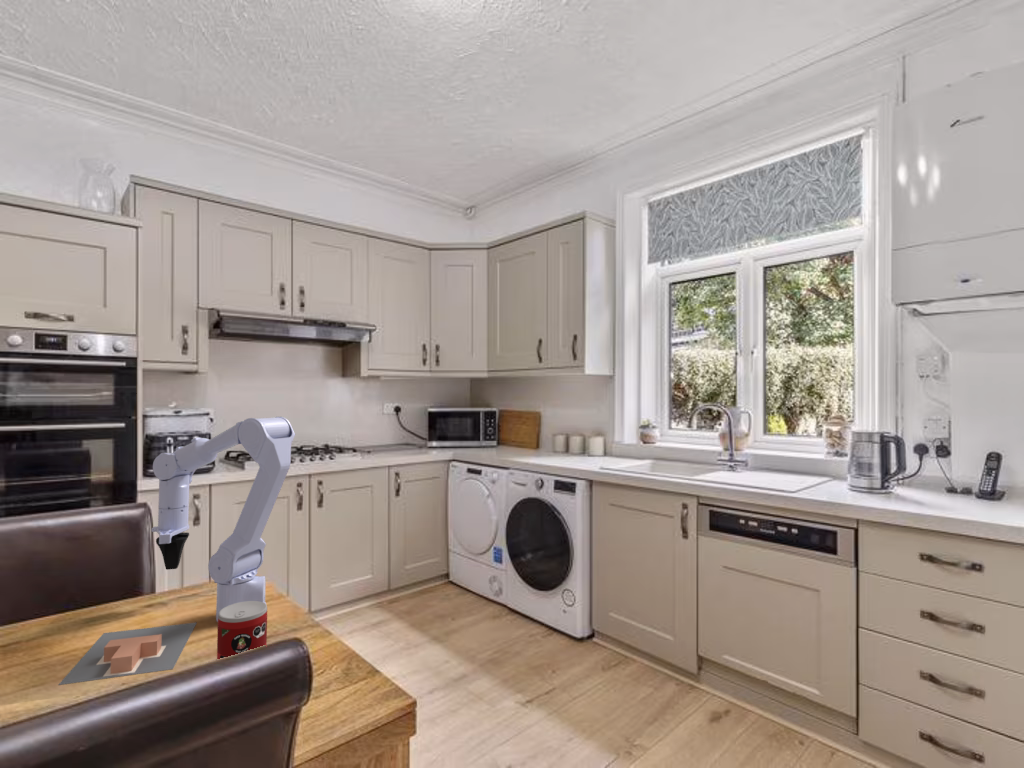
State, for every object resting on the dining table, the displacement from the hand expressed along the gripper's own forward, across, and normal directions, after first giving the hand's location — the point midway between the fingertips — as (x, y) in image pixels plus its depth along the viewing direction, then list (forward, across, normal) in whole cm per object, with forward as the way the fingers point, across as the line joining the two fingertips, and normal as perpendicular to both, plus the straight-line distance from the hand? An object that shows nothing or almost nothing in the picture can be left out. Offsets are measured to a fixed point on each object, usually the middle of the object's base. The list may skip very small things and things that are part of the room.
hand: (172, 568), depth 119 cm
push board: (+9, +21, -1) cm, 23 cm away
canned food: (+10, +34, +18) cm, 40 cm away
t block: (+8, +26, -1) cm, 27 cm away
